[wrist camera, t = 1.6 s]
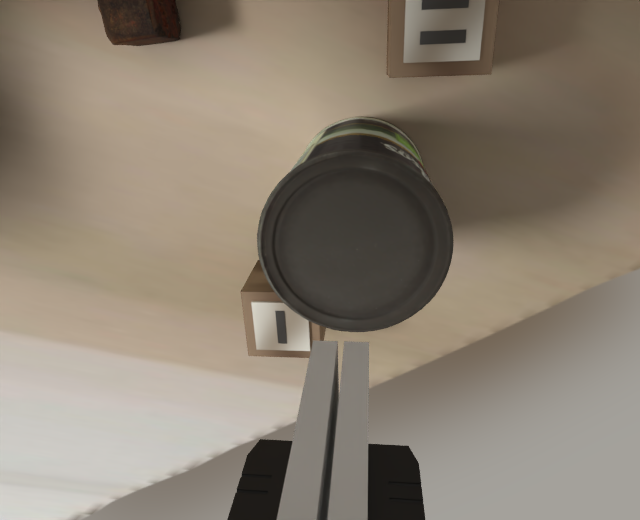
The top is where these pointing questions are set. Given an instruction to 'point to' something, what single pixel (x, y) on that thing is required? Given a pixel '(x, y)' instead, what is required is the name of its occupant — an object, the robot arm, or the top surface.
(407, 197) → the coffee can
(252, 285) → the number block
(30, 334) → the top surface
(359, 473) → the robot arm
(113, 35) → the brick
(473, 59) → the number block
